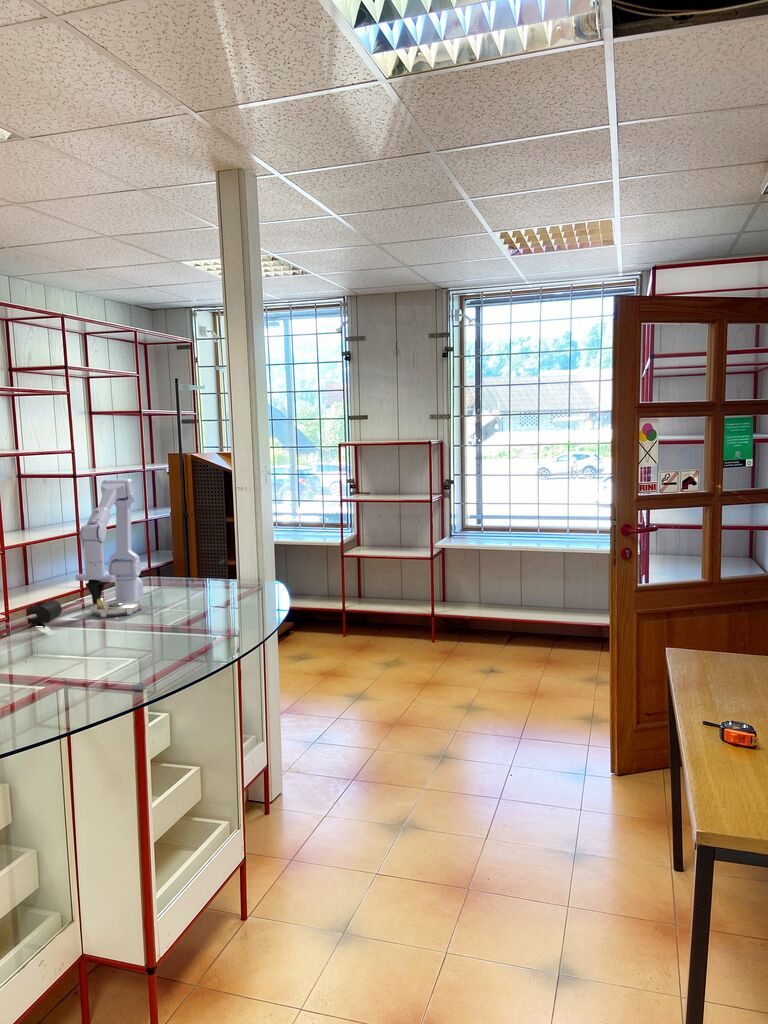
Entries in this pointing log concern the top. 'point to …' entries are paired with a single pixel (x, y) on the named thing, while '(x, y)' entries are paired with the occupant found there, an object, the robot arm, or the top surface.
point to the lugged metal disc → (115, 608)
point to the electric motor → (44, 612)
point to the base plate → (115, 618)
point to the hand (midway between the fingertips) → (97, 603)
